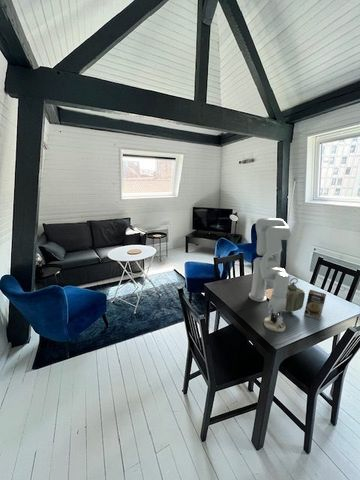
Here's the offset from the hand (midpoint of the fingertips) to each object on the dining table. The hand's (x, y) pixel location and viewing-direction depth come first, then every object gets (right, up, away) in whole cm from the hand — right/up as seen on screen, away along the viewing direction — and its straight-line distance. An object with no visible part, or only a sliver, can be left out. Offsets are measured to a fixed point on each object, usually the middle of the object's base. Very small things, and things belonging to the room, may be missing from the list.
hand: (275, 320), depth 124 cm
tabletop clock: (+15, 0, +13) cm, 20 cm away
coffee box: (+30, -1, +12) cm, 32 cm away
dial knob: (0, -1, 0) cm, 1 cm away
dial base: (0, -3, +1) cm, 3 cm away
